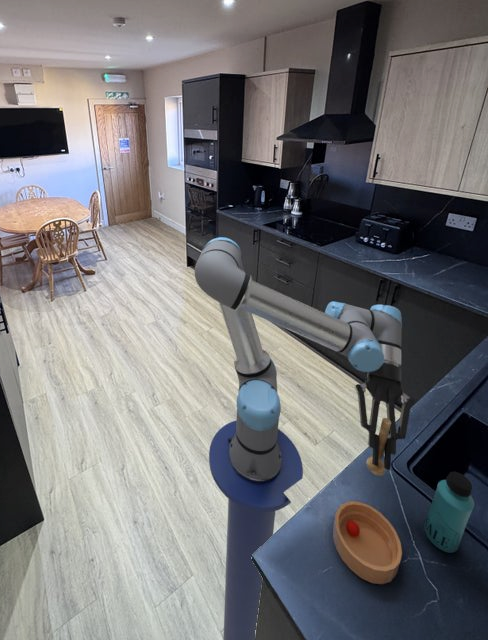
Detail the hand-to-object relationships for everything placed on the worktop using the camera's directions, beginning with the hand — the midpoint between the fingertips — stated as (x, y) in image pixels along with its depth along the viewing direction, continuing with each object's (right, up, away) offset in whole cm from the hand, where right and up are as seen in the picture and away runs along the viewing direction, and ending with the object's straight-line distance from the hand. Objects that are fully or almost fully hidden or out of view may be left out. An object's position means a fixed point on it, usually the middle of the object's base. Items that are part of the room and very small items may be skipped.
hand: (381, 466), depth 76 cm
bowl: (-5, -17, -3) cm, 18 cm away
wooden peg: (+2, -4, +5) cm, 6 cm away
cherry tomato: (-7, -14, -1) cm, 16 cm away
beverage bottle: (+12, -16, -2) cm, 20 cm away
